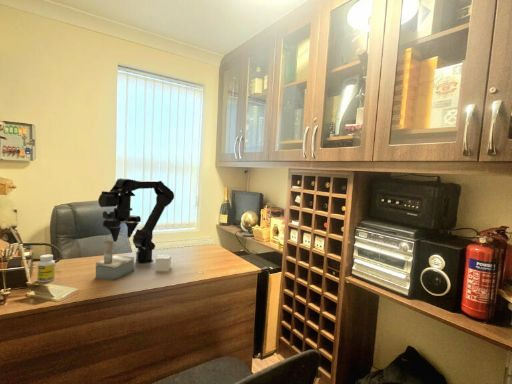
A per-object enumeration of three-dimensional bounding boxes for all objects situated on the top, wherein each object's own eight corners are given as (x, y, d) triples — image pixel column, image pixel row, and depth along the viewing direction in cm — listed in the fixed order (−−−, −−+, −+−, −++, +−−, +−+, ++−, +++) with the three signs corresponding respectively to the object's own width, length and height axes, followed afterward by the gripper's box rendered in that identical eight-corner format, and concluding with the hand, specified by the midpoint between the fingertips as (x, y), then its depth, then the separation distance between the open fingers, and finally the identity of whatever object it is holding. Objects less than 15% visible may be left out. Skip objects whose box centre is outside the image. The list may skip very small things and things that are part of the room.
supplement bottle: (35, 283, 106) (35, 258, 105) (39, 278, 111) (40, 254, 110) (52, 281, 108) (53, 257, 107) (56, 277, 113) (56, 253, 112)
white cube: (155, 271, 126) (155, 258, 126) (157, 267, 132) (158, 254, 132) (168, 271, 127) (169, 258, 126) (170, 267, 133) (171, 254, 132)
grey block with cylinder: (116, 257, 126) (117, 235, 125) (133, 259, 124) (134, 237, 123) (96, 264, 114) (96, 241, 114) (114, 267, 112) (115, 243, 112)
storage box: (116, 268, 126) (116, 257, 126) (133, 271, 124) (133, 260, 124) (95, 277, 114) (95, 265, 114) (114, 280, 113) (114, 268, 112)
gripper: (122, 203, 138) (121, 234, 138) (92, 206, 119) (91, 241, 120) (142, 204, 135) (140, 236, 136) (114, 208, 117) (113, 244, 118)
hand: (122, 239), depth 128 cm, fingers open, 9 cm apart
